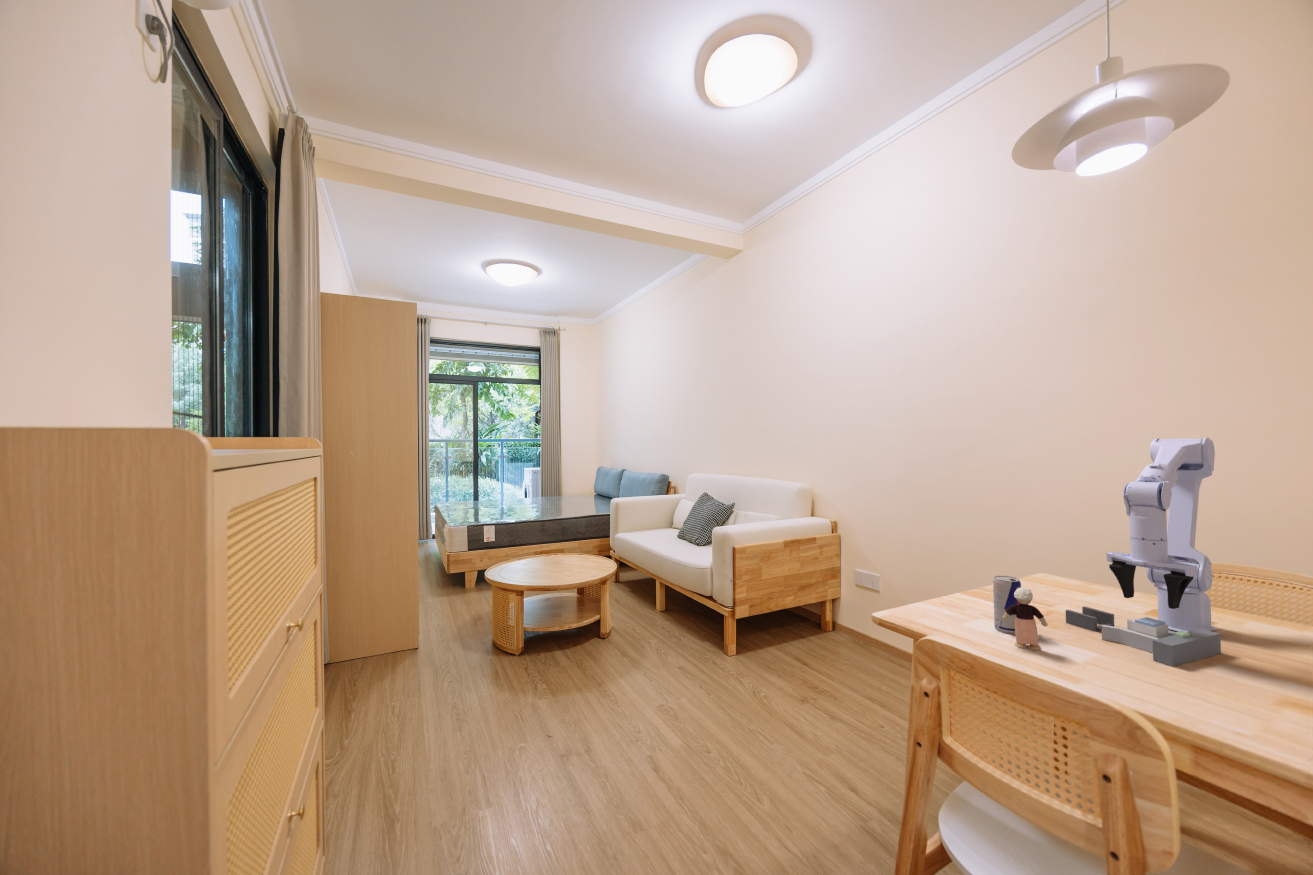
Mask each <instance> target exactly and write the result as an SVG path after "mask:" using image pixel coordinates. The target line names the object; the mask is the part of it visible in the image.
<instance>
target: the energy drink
mask: <svg viewBox="0 0 1313 875" xmlns="http://www.w3.org/2000/svg"><path fill="white" fill-rule="evenodd" d="M1021 583H1022V582H1021V581H1020V579H1019V578H1017V577H1014V576H1010V575H1009V576H1008V575H994V576H993V580H992V585H993V586H992V587H993V588H992V589H993V590H992V591H993V620H994V622H993V623H994V628H995V629H996V630H997V631H999V632H1001V633H1005V634H1011V635H1015V618H1016V615H1011V616H1010V617H1008V620H1004V619H1003V618H1002V617H1003V616H1004V613H1005V610H1006V609H1007V608H1008V607H1010V606H1011V605H1015V604H1021V603H1019V602H1018V600H1017V599H1016V598H1015V597H1014V592H1015V591H1016V590H1017V589H1018V588H1021V587H1022V584H1021Z"/></svg>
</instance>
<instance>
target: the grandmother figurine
mask: <svg viewBox="0 0 1313 875" xmlns="http://www.w3.org/2000/svg"><path fill="white" fill-rule="evenodd" d="M1014 597H1015V598H1016V599H1017V600H1018V602H1019V603H1021V604H1015V605H1011V606H1010V607H1008V608H1007V609H1006V610H1005V613H1004V616H1003V617H1002V618H1003V619H1004V620H1008V617H1010V616H1011V615H1016V618H1015V634H1014V635H1015V641H1016V642H1015V644H1014V646H1016V647H1017V648H1019V649H1021V650H1022V649H1023V650H1026V649H1027V648H1029V649H1030V650H1032V651H1037V652H1038V651H1039V650H1041V649H1042V648H1041V646H1040V644H1039V636H1038V629H1037V623H1036V619H1038V620H1039V622H1041V626H1043V627H1047V626H1049V625H1048V622H1047V621H1046V618H1045V617H1044V615H1043V613H1042V612H1041V611H1040V609H1038V608H1037V607H1036V606H1034V605H1031V602H1032V601H1033V597H1034V596H1033V592H1032V590H1031V589H1030V588H1027V587H1023V586H1021V588H1018V589H1017V590H1016V591H1015V592H1014ZM1034 617H1036V619H1035V618H1034ZM1027 645H1028V646H1029V647H1027Z"/></svg>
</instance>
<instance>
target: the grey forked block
mask: <svg viewBox="0 0 1313 875" xmlns="http://www.w3.org/2000/svg"><path fill="white" fill-rule="evenodd" d="M1126 620H1127V621H1126V622H1127V624H1126V625H1127V627H1126V628H1127V629H1126V628H1125V627H1118V626H1114V627H1113V626H1107V625H1102V631H1101V640H1102V641H1107V642H1108V641H1109V642H1113V643H1119V644H1121V645H1125V646H1129V647H1131V648H1134V649H1135V648H1136V649H1139V650H1142V651H1145V652H1148V653H1151V654H1152V658H1153V660H1152V661H1154V662H1157V663H1160V664H1163V665H1166V666H1170V667H1171V668H1173V667H1177V666H1180V665H1181V666H1182V665H1184V664H1188V663H1190V662H1191V663H1192V662H1195V661H1198V660H1202V659H1205V658H1209V657H1213V656H1217V655H1220V654H1221V653H1222V648H1221V647H1222V646H1221V645H1222V644H1221V643H1222V642H1221V641H1222V639H1221V633H1220V632H1219V633H1218V632H1215V631H1208V630H1204V629H1197V630H1193V631H1189V632H1185V631H1179V632H1177V631H1172V630H1168V637H1164V638H1160V639H1159V638H1156V637H1152V636H1149V635H1145V634H1142V633H1138V632H1135V631H1133V621H1135V620H1136V619H1132V618H1131V619H1130V618H1127V619H1126ZM1219 653H1220V654H1219ZM1216 654H1217V655H1216Z"/></svg>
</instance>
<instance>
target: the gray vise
mask: <svg viewBox="0 0 1313 875" xmlns="http://www.w3.org/2000/svg"><path fill="white" fill-rule="evenodd" d="M1081 609H1082V610H1081V611H1082V612H1078V611H1074V610H1071V609H1066V610H1065V623H1066V624H1068V625H1073V626H1076V627H1080V628H1083V629H1085V630H1089V631H1091V632H1097V631H1098V632H1102V625H1107V626H1113V627H1115V614H1114V613H1110V612H1107V611H1104V610H1100V609H1096V608H1092V607H1089V606H1082V607H1081Z"/></svg>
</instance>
